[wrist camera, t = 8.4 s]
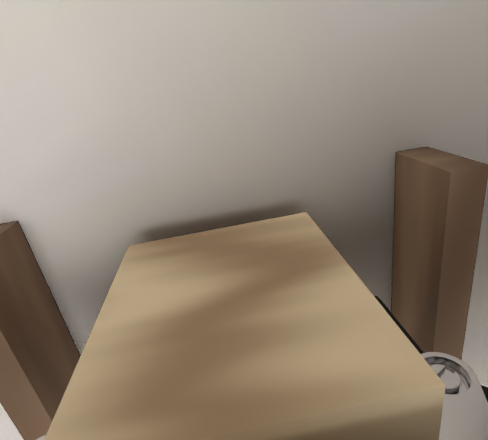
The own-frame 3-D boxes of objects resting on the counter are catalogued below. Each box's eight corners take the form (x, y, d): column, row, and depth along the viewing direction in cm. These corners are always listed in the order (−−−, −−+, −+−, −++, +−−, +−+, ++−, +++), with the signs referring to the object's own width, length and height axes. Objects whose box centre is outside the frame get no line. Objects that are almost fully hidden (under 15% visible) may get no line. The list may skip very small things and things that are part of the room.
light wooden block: (307, 211, 11) (448, 384, 5) (318, 346, 14) (422, 581, 7) (127, 245, 11) (23, 478, 5) (170, 377, 13) (142, 651, 7)
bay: (426, 146, 13) (489, 165, 10) (404, 481, 21) (434, 541, 18) (-17, 227, 12) (-83, 271, 9) (144, 541, 20) (135, 614, 17)
